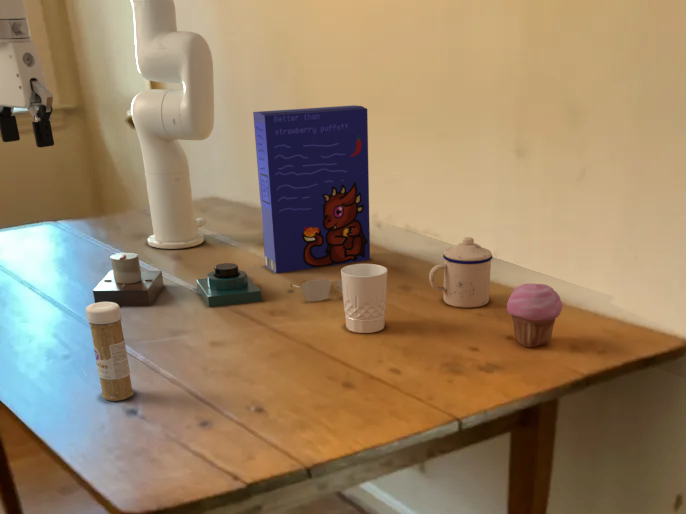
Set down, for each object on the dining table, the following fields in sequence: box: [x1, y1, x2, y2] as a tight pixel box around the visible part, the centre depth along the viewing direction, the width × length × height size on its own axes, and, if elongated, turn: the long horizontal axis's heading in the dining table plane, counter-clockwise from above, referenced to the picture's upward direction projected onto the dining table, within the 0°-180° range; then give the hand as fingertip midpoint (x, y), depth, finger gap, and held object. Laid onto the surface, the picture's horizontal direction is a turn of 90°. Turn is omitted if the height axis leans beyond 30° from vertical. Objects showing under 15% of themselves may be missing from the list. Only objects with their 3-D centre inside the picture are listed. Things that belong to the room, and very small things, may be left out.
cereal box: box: [252, 104, 371, 274], centre depth 185 cm, size 22×6×30 cm, turn 119°
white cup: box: [340, 263, 388, 334], centre depth 155 cm, size 8×8×10 cm
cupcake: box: [506, 282, 563, 348], centre depth 149 cm, size 9×9×10 cm
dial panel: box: [92, 270, 165, 307], centre depth 172 cm, size 13×10×3 cm
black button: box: [213, 262, 239, 278], centre depth 171 cm, size 4×4×2 cm
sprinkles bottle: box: [85, 302, 134, 402], centre depth 129 cm, size 5×5×14 cm
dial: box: [110, 252, 142, 284], centre depth 170 cm, size 5×5×5 cm
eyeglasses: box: [290, 277, 343, 303], centre depth 174 cm, size 14×8×4 cm, turn 112°
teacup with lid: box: [428, 236, 493, 309], centre depth 167 cm, size 12×9×12 cm
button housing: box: [195, 269, 263, 308], centre depth 172 cm, size 12×10×4 cm
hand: (28, 143), depth 158 cm, fingers open, 9 cm apart
